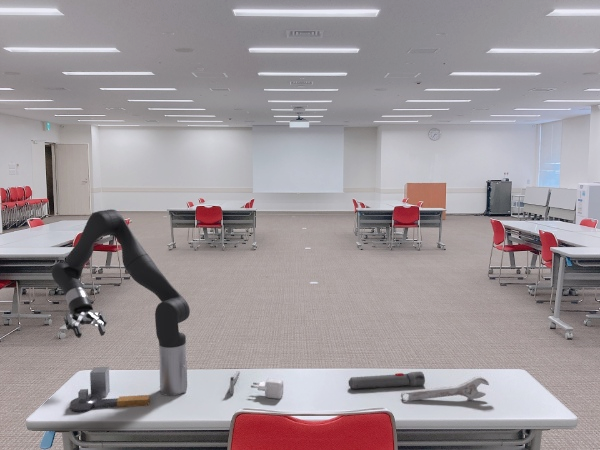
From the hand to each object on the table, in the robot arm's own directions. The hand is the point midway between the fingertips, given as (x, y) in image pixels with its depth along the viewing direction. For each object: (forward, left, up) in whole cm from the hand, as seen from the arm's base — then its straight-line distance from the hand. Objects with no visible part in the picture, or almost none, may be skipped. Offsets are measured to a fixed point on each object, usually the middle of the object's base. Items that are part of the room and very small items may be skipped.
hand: (91, 335), depth 173 cm
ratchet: (-10, +16, -19) cm, 27 cm away
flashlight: (-106, +14, -20) cm, 109 cm away
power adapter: (-62, +16, -20) cm, 67 cm away
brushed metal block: (-4, +7, -19) cm, 21 cm away
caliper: (-51, +4, -20) cm, 55 cm away
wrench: (-122, +27, -20) cm, 127 cm away
